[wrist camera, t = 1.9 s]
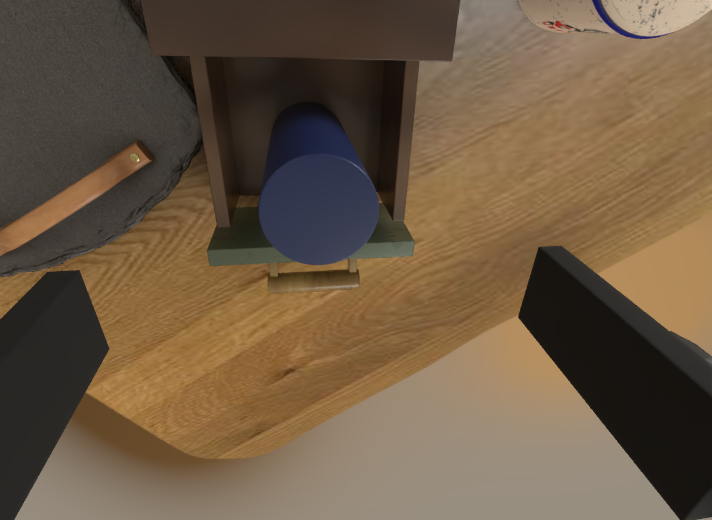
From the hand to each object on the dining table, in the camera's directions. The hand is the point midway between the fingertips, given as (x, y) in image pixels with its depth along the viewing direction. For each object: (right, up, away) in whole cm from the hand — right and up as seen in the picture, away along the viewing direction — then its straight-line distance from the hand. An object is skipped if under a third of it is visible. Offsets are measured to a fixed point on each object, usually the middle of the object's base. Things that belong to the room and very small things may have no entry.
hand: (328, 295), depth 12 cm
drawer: (-3, +9, +18) cm, 20 cm away
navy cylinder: (-3, +10, +16) cm, 19 cm away
